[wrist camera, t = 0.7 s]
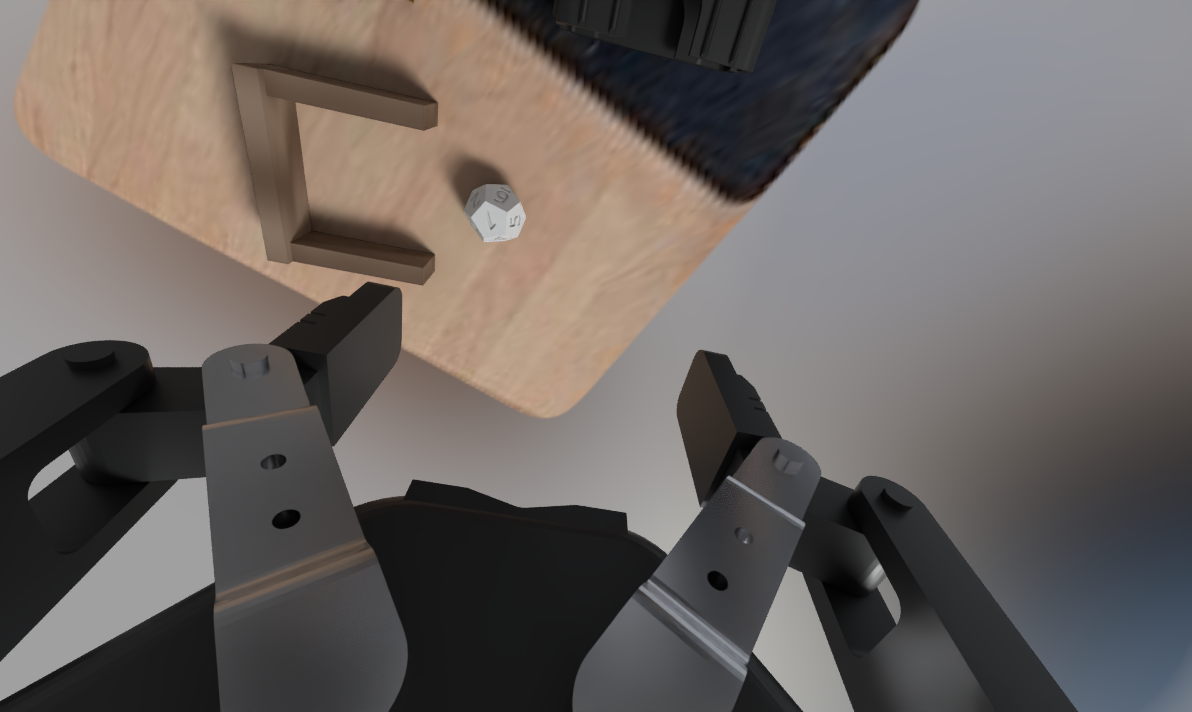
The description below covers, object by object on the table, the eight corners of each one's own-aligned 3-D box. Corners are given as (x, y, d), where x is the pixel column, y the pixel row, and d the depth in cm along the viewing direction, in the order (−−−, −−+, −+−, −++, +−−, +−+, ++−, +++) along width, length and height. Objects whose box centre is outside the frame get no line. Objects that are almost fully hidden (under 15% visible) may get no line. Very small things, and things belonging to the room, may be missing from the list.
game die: (520, 173, 28) (512, 183, 26) (532, 232, 30) (526, 247, 27) (464, 181, 28) (452, 192, 26) (480, 239, 30) (470, 254, 28)
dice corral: (268, 63, 25) (230, 63, 22) (437, 102, 26) (420, 106, 23) (295, 244, 30) (267, 260, 28) (434, 270, 31) (420, 288, 29)
